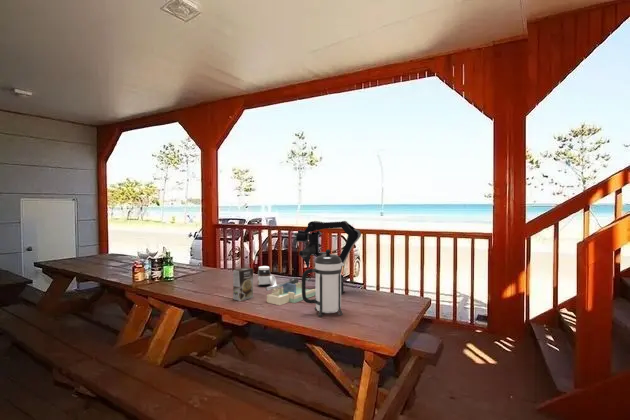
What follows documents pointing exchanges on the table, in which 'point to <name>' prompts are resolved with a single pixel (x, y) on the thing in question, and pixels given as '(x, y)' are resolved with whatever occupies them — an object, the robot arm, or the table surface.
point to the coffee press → (326, 284)
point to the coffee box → (242, 284)
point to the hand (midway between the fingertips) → (313, 268)
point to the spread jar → (265, 277)
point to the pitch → (289, 295)
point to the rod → (286, 286)
